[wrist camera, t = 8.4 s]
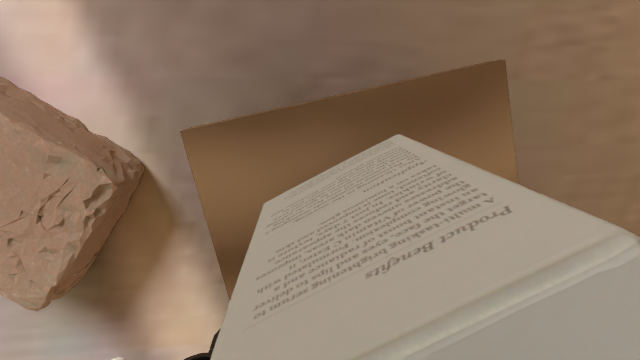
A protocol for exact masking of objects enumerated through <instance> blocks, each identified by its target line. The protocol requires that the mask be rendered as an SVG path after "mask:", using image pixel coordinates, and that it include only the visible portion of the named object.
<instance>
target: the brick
mask: <svg viewBox="0 0 640 360" xmlns="http://www.w3.org/2000/svg"><path fill="white" fill-rule="evenodd" d="M143 171H144V167H143V165H142V164H141V163H140V161H139V160H138V159H137V158H135V157H134V156H132V154H131V153H130V152H129V151H127V150H125V149H124V148H122V147H120V146H118V145H117V144H115V143H114V142H112V141H111V140H109V139H108V138H107V137H103V136H100V135H96V134H93V133H90V132H89V131H88V130H87V129H86V126H85V125H84V124H83V123H82V122H81V121H79V120H78V119H76V118H73V117H71V116H68V115H66V114H64V113H63V112H61V111H59V110H58V109H56V108H54V107H52V106H51V105H49V104H48V103H46V102H44V101H42V100H40V99H39V98H37V97H36V96H35V95H33V94H32V93H30V92H28V91H26V90H23V89H21V88H18V87H17V86H16V85H14V84H13V83H12V82H10V81H8V80H6V79H4V78H2V77H1V76H0V294H1V295H3V296H5V297H7V298H8V299H10V300H12V301H14V302H16V303H18V304H20V305H21V306H23V307H25V308H26V309H30V310H34V311H39V310H41V309H43V308H45V307H46V306H48V305H49V303H50V302H51V300H54V299H57V298H61V297H62V296H64V295H65V294H66V293H67V292H68V291H69V289H70V288H73V287H74V286H75V285H76V284H77V283H78V282H79V281H80V280H81V279H82V278H83V277H84V275H85V273H86V272H87V270H88V269H89V268H90V266H91V265H92V263H93V262H94V260H95V259H96V257H97V255H98V254H99V251H100V249H101V248H102V246H103V244H104V243H105V241H106V240H107V238H108V237H109V235H110V233H111V231H112V229H113V226H114V225H115V224H116V222H117V221H118V220H119V218H120V217H121V215H122V214H123V213H124V211H125V210H126V208H127V206H128V204H129V202H128V201H129V199H130V197H131V195H132V193H133V192H134V191H135V190H136V188H137V187H138V185H139V183H140V182H139V181H140V178H141V176H142V174H143Z"/></svg>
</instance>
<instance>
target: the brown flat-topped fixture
mask: <svg viewBox="0 0 640 360" xmlns="http://www.w3.org/2000/svg"><path fill="white" fill-rule="evenodd" d="M180 132H181V136H182V139H183V143H184V146H185V150H186V153H187V156H188V160H189V163H190V167H191V170H192V173H193V177H194V180H195V184H196V187H197V190H198V194H199V197H200V201H201V204H202V207H203V211H204V214H205V218H206V221H207V224H208V228H209V231H210V235H211V238H212V241H213V245H214V248H215V252H216V255H217V258H218V262H219V265H220V269H221V272H222V275H223V279H224V282H225V286H226V289H227V292H228V296H229V299H230V300H231V296H232V293H233V290H234V288H235V285H236V282H237V279H238V276H239V273H240V270H241V267H242V265H243V262H244V259H245V256H246V253H247V251H248V248H249V245H250V242H251V239H252V236H253V233H254V231H255V228H256V225H257V222H258V219H259V216H260V213H261V210H262V208H263V205H264V203H266V202H267V201H269V200H271V199H273V198H275V197H277V196H279V195H281V194H282V193H284V192H286V191H288V190H290V189H292V188H294V187H296V186H298V185H299V184H301V183H303V182H305V181H307V180H309V179H311V178H313V177H315V176H317V175H319V174H321V173H323V172H325V171H326V170H328V169H330V168H332V167H334V166H336V165H338V164H340V163H342V162H344V161H346V160H348V159H349V158H351V157H353V156H355V155H357V154H359V153H361V152H363V151H365V150H367V149H369V148H371V147H373V146H375V145H377V144H379V143H381V142H383V141H385V140H387V139H389V138H391V137H393V136H395V135H398V134H400V135H403V136H405V137H407V138H410V139H412V140H415V141H417V142H420V143H422V144H424V145H427V146H429V147H431V148H434V149H436V150H439V151H441V152H443V153H445V154H448V155H450V156H453V157H455V158H457V159H460V160H462V161H465V162H467V163H470V164H472V165H475V166H477V167H479V168H481V169H484V170H486V171H489V172H491V173H493V174H496V175H498V176H500V177H503V178H505V179H507V180H510V181H512V182H515V183H517V184H518V174H517V165H516V156H515V147H514V137H513V128H512V119H511V110H510V100H509V91H508V82H507V72H506V63H505V60H498V61H490V62H485V63H480V64H476V65H471V66H466V67H462V68H457V69H453V70H448V71H444V72H439V73H435V74H430V75H426V76H421V77H417V78H412V79H408V80H403V81H399V82H394V83H390V84H385V85H381V86H376V87H372V88H367V89H363V90H358V91H354V92H349V93H345V94H340V95H336V96H331V97H327V98H322V99H318V100H313V101H309V102H304V103H300V104H295V105H291V106H286V107H282V108H277V109H273V110H268V111H264V112H259V113H255V114H250V115H246V116H241V117H237V118H232V119H228V120H223V121H219V122H214V123H209V124H205V125H200V126H196V127H191V128H188V129H186V130H183V131H180Z"/></svg>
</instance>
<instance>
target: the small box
mask: <svg viewBox="0 0 640 360" xmlns="http://www.w3.org/2000/svg"><path fill="white" fill-rule="evenodd" d="M210 360H640V237H639V236H637V235H635V234H633V233H631V232H629V231H628V230H626V229H624V228H621V227H619V226H617V225H615V224H613V223H611V222H609V221H606V220H604V219H601V218H599V217H596V216H594V215H591V214H589V213H586V212H584V211H582V210H579V209H577V208H575V207H572V206H570V205H567V204H565V203H563V202H560V201H558V200H556V199H553V198H551V197H548V196H546V195H543V194H541V193H538V192H536V191H533V190H531V189H529V188H527V187H524V186H522V185H520V184H517V183H515V182H512V181H510V180H507V179H505V178H503V177H500V176H498V175H496V174H493V173H491V172H489V171H486V170H484V169H481V168H479V167H477V166H475V165H472V164H470V163H467V162H465V161H462V160H460V159H457V158H455V157H453V156H450V155H448V154H445V153H443V152H441V151H439V150H436V149H434V148H431V147H429V146H427V145H424V144H422V143H420V142H417V141H415V140H412V139H410V138H407V137H405V136H403V135H400V134H398V135H395V136H393V137H391V138H389V139H387V140H385V141H383V142H381V143H379V144H377V145H375V146H373V147H371V148H369V149H367V150H365V151H363V152H361V153H359V154H357V155H355V156H353V157H351V158H349V159H348V160H346V161H344V162H342V163H340V164H338V165H336V166H334V167H332V168H330V169H328V170H326V171H325V172H323V173H321V174H319V175H317V176H315V177H313V178H311V179H309V180H307V181H305V182H303V183H301V184H299V185H298V186H296V187H294V188H292V189H290V190H288V191H286V192H284V193H282V194H281V195H279V196H277V197H275V198H273V199H271V200H269V201H267V202H266V203H264V205H263V208H262V210H261V213H260V216H259V219H258V222H257V225H256V228H255V231H254V233H253V236H252V239H251V242H250V245H249V248H248V251H247V253H246V256H245V259H244V262H243V265H242V267H241V270H240V273H239V276H238V279H237V282H236V285H235V288H234V290H233V293H232V296H231V300H230V302H229V305H228V308H227V312H226V315H225V318H224V321H223V324H222V326H221V329H220V332H219V335H218V337H217V340H216V343H215V347H214V350H213V352H212V355H211V359H210Z"/></svg>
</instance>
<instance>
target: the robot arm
mask: <svg viewBox="0 0 640 360" xmlns="http://www.w3.org/2000/svg"><path fill="white" fill-rule="evenodd" d="M220 329H221V328H220ZM219 332H220V330H219V331H218V332H217V333H216V334H215V335H214V338H213V341H212V344H211V347H210V350H209V353H200V354H197V355H194V356H190V357H188V358H186V359H184V360H210V359H211V355H212V352H213V350H214V347H215V343H216V340H217V337H218V335H219Z"/></svg>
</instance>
